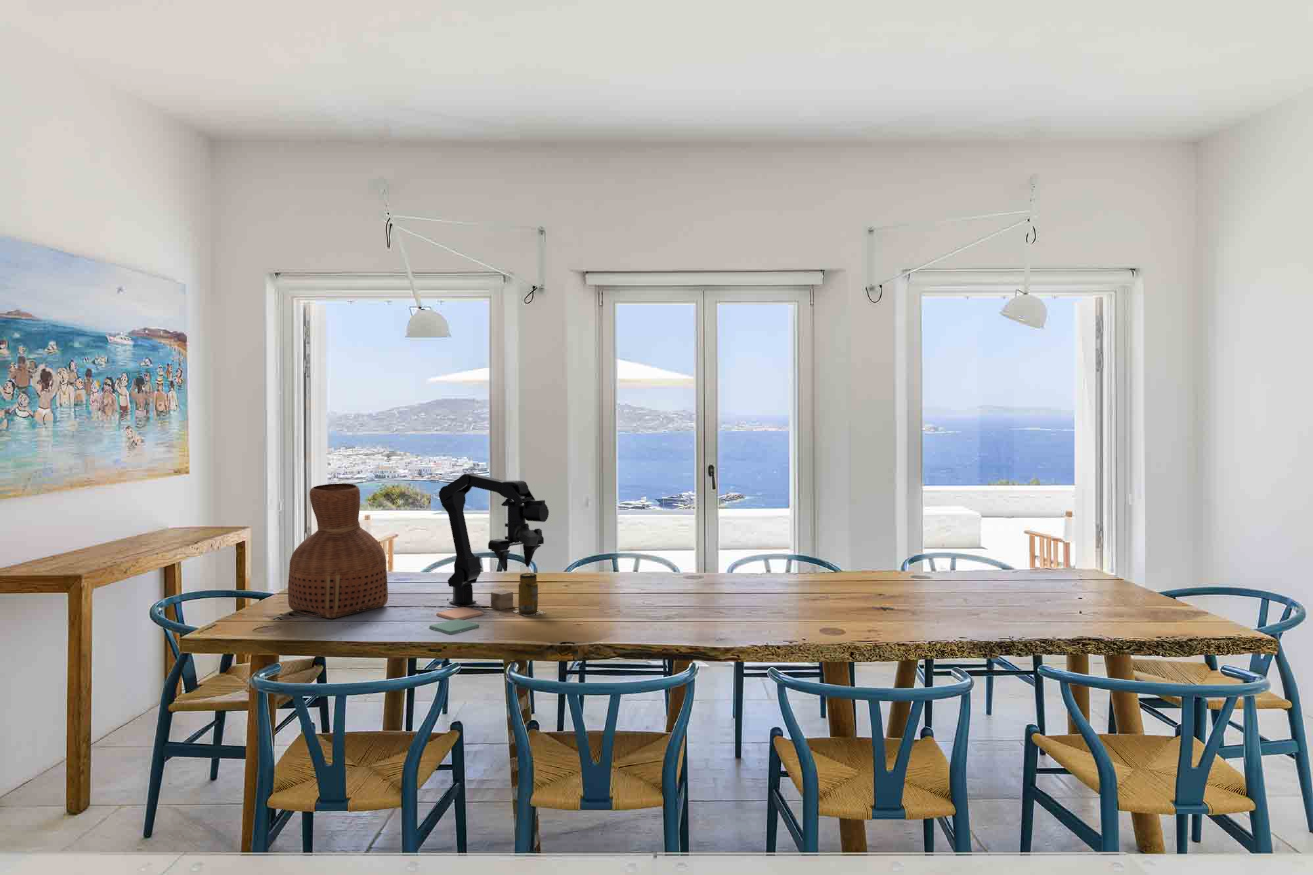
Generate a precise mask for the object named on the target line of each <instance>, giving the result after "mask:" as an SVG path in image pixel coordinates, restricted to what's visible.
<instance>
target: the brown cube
mask: <svg viewBox="0 0 1313 875" xmlns="http://www.w3.org/2000/svg"><path fill="white" fill-rule="evenodd" d="M513 607H514V592H513V591H512V590H511V591H510V590H507V589H506V590H505V589H500V590H496V591H491V592H490V608H492V609H495V608H496V609H495V610H500V611H502V610H506V609H505V608H507V609H511V608H513Z"/></svg>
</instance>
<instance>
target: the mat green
mask: <svg viewBox="0 0 1313 875" xmlns="http://www.w3.org/2000/svg"><path fill="white" fill-rule="evenodd" d="M478 628H480V624H479V623H476V622H471V621H468V620H465V619H462V620H461V619H455V620H451V619H450V620H447V621H444V622H439V623H434V624H429V629H431V630H434V629H435V630H434V631H437V632H440V631H441V633H445V634H447V633H448V635H453V633H454V634H457V633H461V632H460V631H462V632H465V631H468V629H470V630H472V629H473V630H474V629H478Z"/></svg>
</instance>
